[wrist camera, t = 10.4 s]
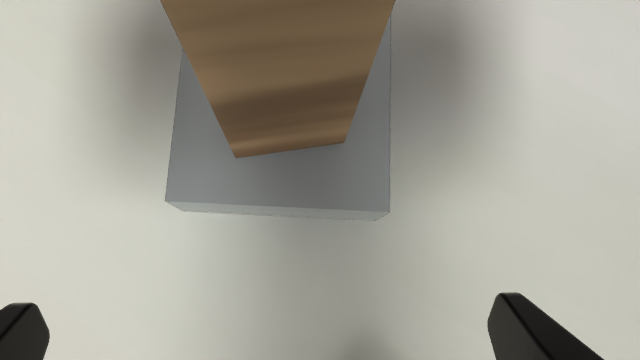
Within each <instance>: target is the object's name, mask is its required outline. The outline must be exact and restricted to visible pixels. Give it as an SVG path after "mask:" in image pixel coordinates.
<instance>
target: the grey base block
mask: <svg viewBox="0 0 640 360" xmlns="http://www.w3.org/2000/svg"><path fill="white" fill-rule="evenodd" d="M390 61H391V14H390V17H389V19H388V22H387V25H386V28H385V31H384V33H383V36H382V39H381V42H380V45H379V47H378V50H377V53H376V56H375V58H374V61H373V64H372V67H371V70H370V72H369V75H368V78H367V81H366V84H365V86H364V89H363V92H362V95H361V98H360V100H359V103H358V106H357V109H356V112H355V114H354V117H353V120H352V123H351V126H350V128H349V131H348V134H347V137H346V140H345V142H344V143H339V144H333V145H326V146H319V147H312V148H305V149H298V150H291V151H284V152H277V153H270V154H263V155H256V156H249V157H242V158H235V156H234V154H233V152H232V150H231V148H230V145H229V143H228V141H227V139H226V137H225V135H224V133H223V131H222V129H221V126H220V124H219V122H218V120H217V118H216V116H215V114H214V112H213V110H212V108H211V105H210V103H209V101H208V99H207V97H206V95H205V93H204V91H203V89H202V87H201V84H200V82H199V80H198V78H197V76H196V74H195V72H194V70H193V68H192V65H191V63H190V61H189V59H188V57H187V55H186V53H185V51H184V49H182V57H181V66H180V75H179V83H178V92H177V100H176V109H175V118H174V126H173V135H172V143H171V152H170V161H169V169H168V178H167V186H166V195H165V202H167V203H169V204H171V205H173V206H175V207H176V208H178V209H180V210H182V211H184V212H203V213H224V214H246V215H267V216H288V217H309V218H330V219H352V220H373V221H375V220H377V219H379V218H380V217H382V216H384V215H386V214H387V213H389V212H390Z"/></svg>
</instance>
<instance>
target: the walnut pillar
mask: <svg viewBox="0 0 640 360" xmlns="http://www.w3.org/2000/svg"><path fill="white" fill-rule="evenodd" d="M161 2H162V5H163V7H164V9H165V11H166V13H167V15H168V17H169V19H170V21H171V23H172V26H173V28H174V30H175V32H176V34H177V36H178V38H179V40H180V42H181V44H182V47H183V49H184V51H185V53H186V55H187V57H188V59H189V61H190V63H191V65H192V68H193V70H194V72H195V74H196V76H197V78H198V80H199V82H200V84H201V87H202V89H203V91H204V93H205V95H206V97H207V99H208V101H209V103H210V105H211V108H212V110H213V112H214V114H215V116H216V118H217V120H218V122H219V124H220V126H221V129H222V131H223V133H224V135H225V137H226V139H227V141H228V143H229V145H230V148H231V150H232V152H233V154H234V156H235V158H242V157H249V156H256V155H263V154H270V153H277V152H284V151H291V150H298V149H305V148H312V147H319V146H326V145H333V144H339V143H344V142H345V140H346V137H347V134H348V131H349V128H350V126H351V123H352V120H353V117H354V114H355V112H356V109H357V106H358V103H359V100H360V98H361V95H362V92H363V89H364V86H365V84H366V81H367V78H368V75H369V72H370V70H371V67H372V64H373V61H374V58H375V56H376V53H377V50H378V47H379V45H380V42H381V39H382V36H383V33H384V31H385V28H386V25H387V22H388V19H389V17H390V14H391V11H392V8H393V5H394V3H395V0H161Z"/></svg>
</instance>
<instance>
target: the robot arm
mask: <svg viewBox="0 0 640 360" xmlns="http://www.w3.org/2000/svg"><path fill="white" fill-rule="evenodd" d="M488 332H489V335H490V339H491V343H492V346H493V350H494V353H495V357H496V360H604V359H603V358H601V357H600V356H599V355H598V354H596V353H595V352H594V351H593V350H591V349H590V348H589V347H588V346H586V345H585V344H584V343H582V342H581V341H580V340H579V339H577V338H576V337H575V336H574V335H572V334H571V333H570V332H569V331H567V330H566V329H565V328H564V327H562V326H561V325H560V324H558V323H557V322H556V321H555V320H553V319H552V318H551V317H550V316H548V315H547V314H546V313H545V312H543V311H542V310H541V309H540V308H538V307H537V306H536V305H535V304H533V303H532V302H531V301H529V300H528V299H527V298H526V297H524V296H523V295H522V294H520V293H499V294H498V295H497V296H496V298H495V301H494V304H493V307H492V309H491V312H490V315H489V318H488ZM49 338H50V334H49V329H48V327H47V325H46V323H45V320H44V318H43V316H42V314H41V312H40V310H39V308H38V306H37V305H36V304H34V303H12V304H9V305H7V306H6V307H4V308H3V309H1V310H0V360H43V358H44V355H45V352H46V349H47V346H48V343H49Z"/></svg>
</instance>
